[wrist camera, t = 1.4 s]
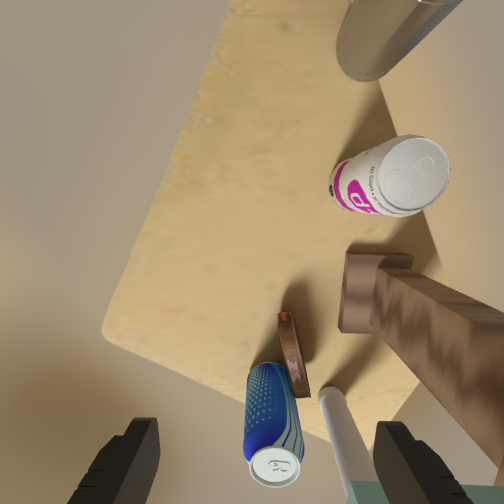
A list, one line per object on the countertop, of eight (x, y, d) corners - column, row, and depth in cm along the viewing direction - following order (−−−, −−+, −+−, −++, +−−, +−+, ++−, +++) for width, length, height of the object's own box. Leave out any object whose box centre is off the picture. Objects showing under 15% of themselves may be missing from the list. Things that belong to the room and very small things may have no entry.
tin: (306, 372, 46) (317, 410, 38) (290, 375, 46) (297, 413, 38) (290, 301, 43) (298, 325, 34) (273, 305, 43) (276, 330, 35)
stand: (346, 252, 40) (580, 394, 11) (405, 253, 40) (804, 402, 11) (337, 326, 43) (503, 593, 14) (393, 328, 43) (677, 601, 14)
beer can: (268, 402, 47) (273, 502, 32) (238, 376, 46) (228, 466, 31) (299, 377, 46) (321, 469, 30) (269, 349, 45) (276, 430, 29)
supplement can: (347, 221, 39) (401, 234, 25) (317, 181, 38) (354, 171, 23) (389, 187, 38) (472, 180, 23) (359, 145, 37) (427, 110, 22)
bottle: (342, 383, 46) (438, 592, 22) (344, 405, 47) (437, 628, 23) (315, 386, 46) (380, 595, 22) (318, 408, 47) (382, 631, 23)
